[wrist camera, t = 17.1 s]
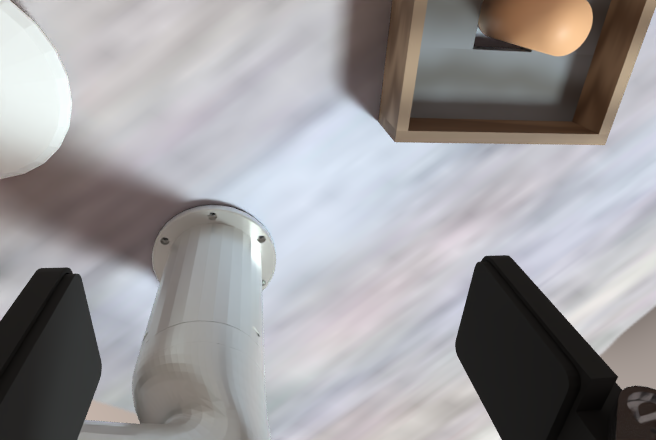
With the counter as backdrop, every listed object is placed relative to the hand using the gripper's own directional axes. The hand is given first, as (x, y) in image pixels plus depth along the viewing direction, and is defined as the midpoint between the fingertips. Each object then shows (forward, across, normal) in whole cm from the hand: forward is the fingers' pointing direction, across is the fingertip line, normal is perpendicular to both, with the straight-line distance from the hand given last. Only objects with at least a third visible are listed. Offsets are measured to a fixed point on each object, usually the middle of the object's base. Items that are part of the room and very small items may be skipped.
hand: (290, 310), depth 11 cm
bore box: (+33, -21, -5) cm, 40 cm away
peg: (+33, -21, -5) cm, 40 cm away
